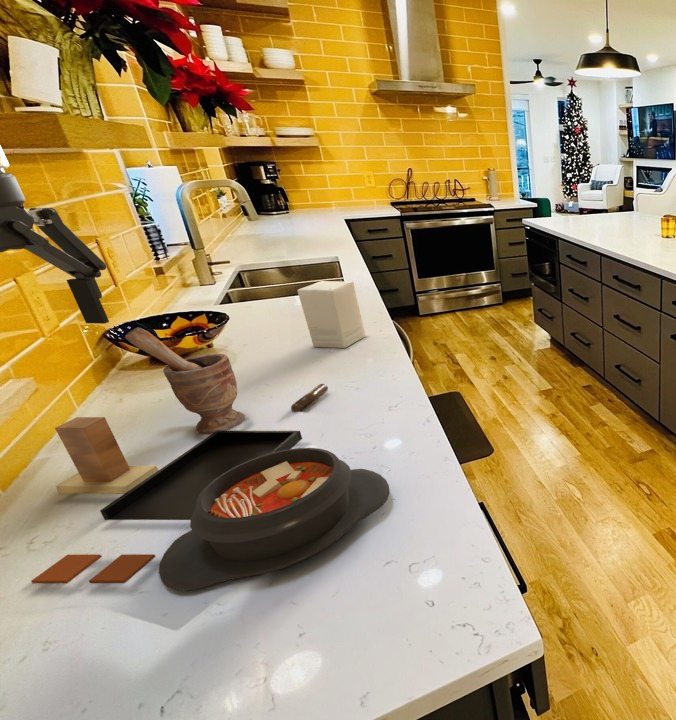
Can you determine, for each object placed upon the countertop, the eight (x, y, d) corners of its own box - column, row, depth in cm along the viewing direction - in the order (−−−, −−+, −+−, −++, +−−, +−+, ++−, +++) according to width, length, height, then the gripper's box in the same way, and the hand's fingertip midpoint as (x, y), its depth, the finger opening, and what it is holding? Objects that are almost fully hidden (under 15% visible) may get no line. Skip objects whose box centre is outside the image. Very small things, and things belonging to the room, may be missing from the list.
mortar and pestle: (166, 454, 82) (116, 341, 74) (169, 432, 89) (123, 326, 81) (252, 430, 89) (214, 325, 81) (249, 412, 95) (213, 312, 87)
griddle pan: (108, 526, 67) (99, 510, 66) (292, 393, 103) (289, 381, 102) (212, 526, 67) (205, 510, 66) (360, 393, 103) (357, 381, 102)
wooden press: (62, 499, 72) (23, 431, 67) (97, 478, 76) (63, 413, 72) (132, 499, 72) (98, 431, 67) (162, 478, 76) (132, 413, 72)
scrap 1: (37, 590, 57) (30, 580, 57) (73, 563, 61) (67, 554, 60) (72, 590, 57) (66, 580, 57) (105, 563, 61) (100, 554, 60)
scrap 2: (94, 590, 57) (88, 580, 57) (126, 563, 61) (121, 554, 60) (129, 590, 57) (123, 580, 57) (159, 563, 61) (154, 554, 60)
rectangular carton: (367, 336, 133) (354, 281, 127) (345, 348, 125) (331, 290, 119) (335, 334, 134) (321, 280, 128) (312, 347, 126) (295, 289, 120)
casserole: (170, 637, 52) (137, 577, 49) (160, 542, 64) (134, 489, 61) (412, 521, 68) (401, 470, 64) (367, 463, 80) (355, 418, 77)
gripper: (-162, 179, 47) (-43, 380, 56) (101, 167, 70) (157, 311, 79) (-240, 178, 47) (-109, 378, 56) (48, 166, 70) (110, 310, 79)
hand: (47, 339), depth 67 cm, fingers open, 13 cm apart
